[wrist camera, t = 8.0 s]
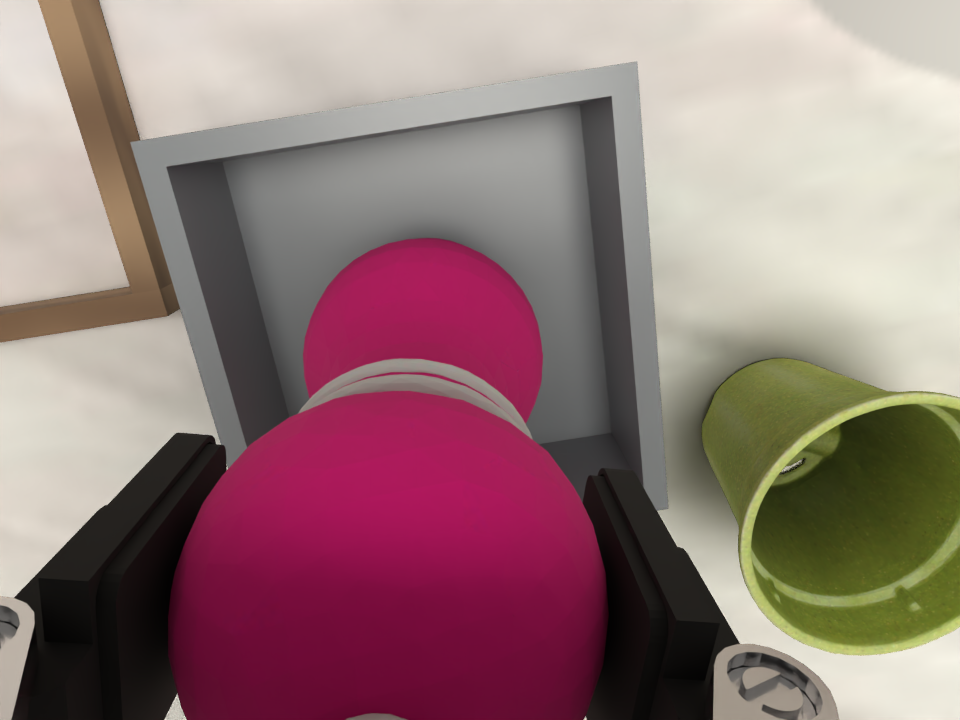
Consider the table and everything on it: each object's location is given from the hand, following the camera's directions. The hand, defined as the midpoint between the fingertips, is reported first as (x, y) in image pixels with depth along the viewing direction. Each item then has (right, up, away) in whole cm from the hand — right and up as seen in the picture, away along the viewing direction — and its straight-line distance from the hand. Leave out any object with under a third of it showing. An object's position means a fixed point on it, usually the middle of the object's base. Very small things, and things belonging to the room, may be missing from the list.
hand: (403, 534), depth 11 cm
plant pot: (+14, 0, +18) cm, 23 cm away
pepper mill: (-1, +4, +14) cm, 14 cm away
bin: (-1, +5, +15) cm, 16 cm away
